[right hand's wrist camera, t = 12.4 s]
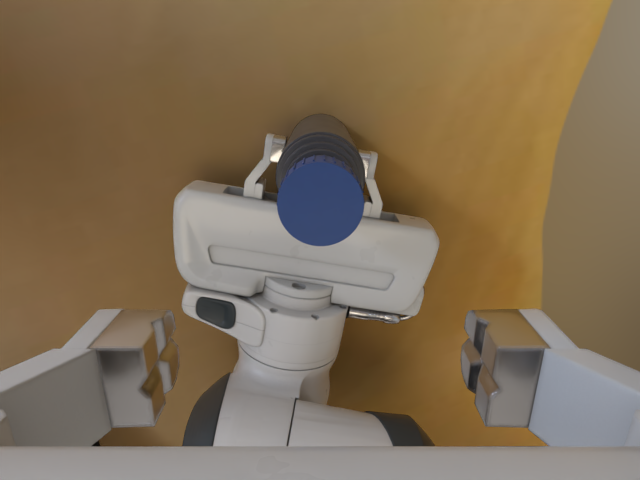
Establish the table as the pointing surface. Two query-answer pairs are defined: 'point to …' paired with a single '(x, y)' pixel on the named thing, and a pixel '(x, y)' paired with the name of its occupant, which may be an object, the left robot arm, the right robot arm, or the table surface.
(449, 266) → the table surface
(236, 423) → the left robot arm
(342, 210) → the cap
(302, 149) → the bottle
